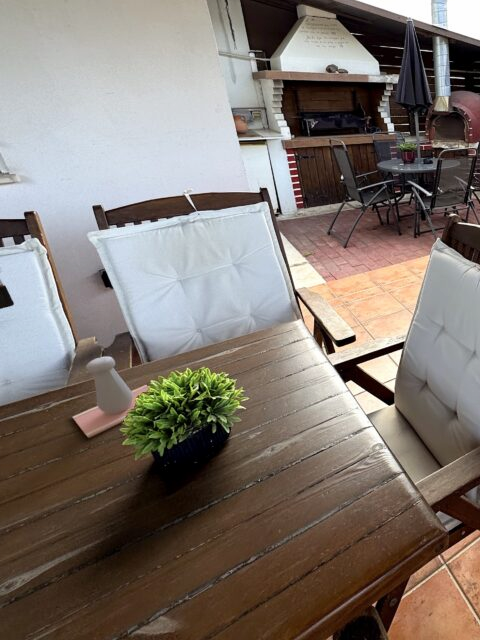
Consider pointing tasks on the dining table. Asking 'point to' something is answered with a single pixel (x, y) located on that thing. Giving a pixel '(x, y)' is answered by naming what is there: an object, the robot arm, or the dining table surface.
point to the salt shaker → (109, 386)
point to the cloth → (103, 417)
